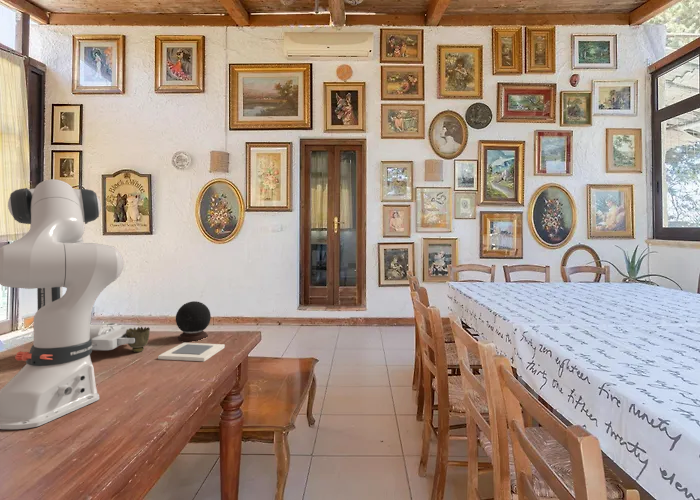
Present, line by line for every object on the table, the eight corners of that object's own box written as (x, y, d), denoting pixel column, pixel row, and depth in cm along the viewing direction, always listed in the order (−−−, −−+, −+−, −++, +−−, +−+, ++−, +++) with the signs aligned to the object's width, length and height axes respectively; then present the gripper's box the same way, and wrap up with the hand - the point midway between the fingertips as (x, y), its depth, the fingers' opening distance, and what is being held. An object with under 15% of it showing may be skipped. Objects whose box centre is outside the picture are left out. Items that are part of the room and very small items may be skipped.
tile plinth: (204, 361, 122) (204, 356, 122) (158, 359, 124) (158, 354, 124) (224, 347, 138) (224, 343, 138) (183, 345, 140) (183, 341, 140)
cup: (148, 353, 130) (148, 330, 129) (124, 355, 127) (124, 332, 127) (151, 347, 136) (151, 325, 136) (128, 349, 134) (128, 327, 133)
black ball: (175, 335, 154) (175, 299, 154) (209, 332, 159) (209, 298, 159) (175, 343, 142) (175, 305, 142) (211, 340, 148) (212, 303, 147)
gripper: (81, 336, 120) (125, 335, 121) (115, 322, 140) (153, 322, 142) (81, 355, 120) (125, 354, 121) (115, 338, 140) (153, 338, 142)
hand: (140, 337), depth 132 cm, fingers closed on cup, 7 cm apart
